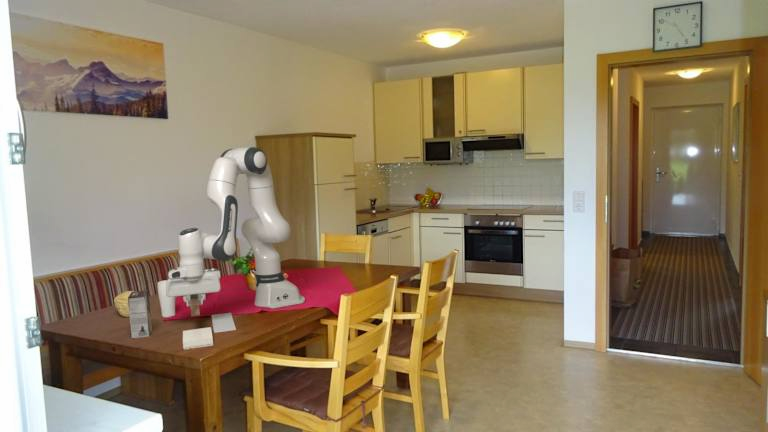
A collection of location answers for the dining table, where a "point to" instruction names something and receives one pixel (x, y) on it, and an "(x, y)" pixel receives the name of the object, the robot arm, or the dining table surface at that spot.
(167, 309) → the drinking glass
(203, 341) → the tile
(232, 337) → the dining table surface
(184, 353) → the dining table surface
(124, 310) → the sculpture
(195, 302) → the stick
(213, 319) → the mat
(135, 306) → the coffee box
